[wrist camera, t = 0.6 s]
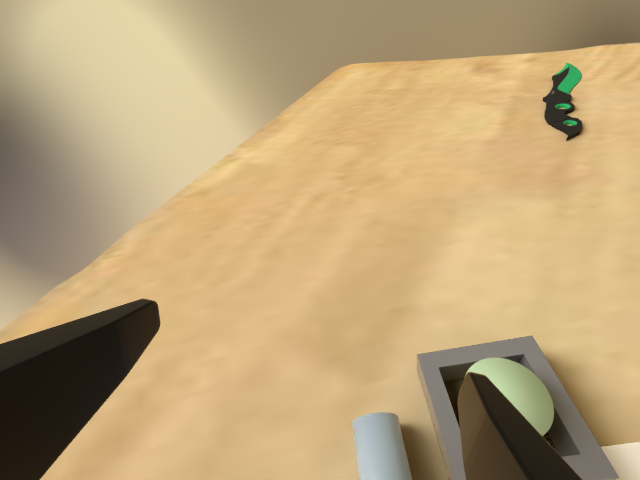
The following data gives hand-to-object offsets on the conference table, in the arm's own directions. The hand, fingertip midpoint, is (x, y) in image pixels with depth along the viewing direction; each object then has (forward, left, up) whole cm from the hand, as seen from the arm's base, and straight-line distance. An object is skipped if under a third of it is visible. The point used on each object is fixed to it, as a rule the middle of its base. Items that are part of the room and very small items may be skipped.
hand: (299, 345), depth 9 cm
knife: (+37, -34, -15) cm, 52 cm away
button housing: (+1, -8, -14) cm, 17 cm away
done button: (+1, -8, -13) cm, 15 cm away
